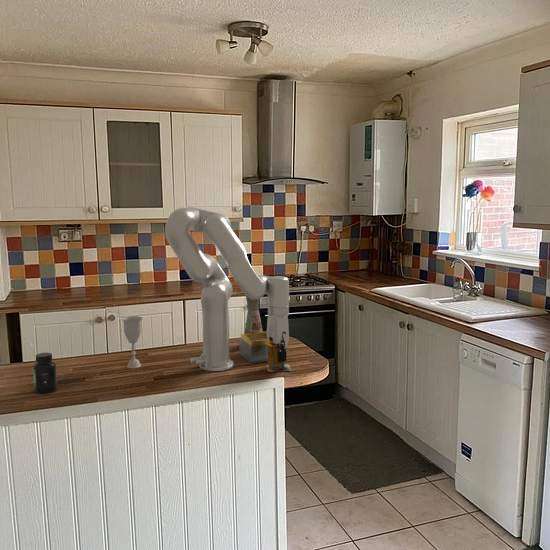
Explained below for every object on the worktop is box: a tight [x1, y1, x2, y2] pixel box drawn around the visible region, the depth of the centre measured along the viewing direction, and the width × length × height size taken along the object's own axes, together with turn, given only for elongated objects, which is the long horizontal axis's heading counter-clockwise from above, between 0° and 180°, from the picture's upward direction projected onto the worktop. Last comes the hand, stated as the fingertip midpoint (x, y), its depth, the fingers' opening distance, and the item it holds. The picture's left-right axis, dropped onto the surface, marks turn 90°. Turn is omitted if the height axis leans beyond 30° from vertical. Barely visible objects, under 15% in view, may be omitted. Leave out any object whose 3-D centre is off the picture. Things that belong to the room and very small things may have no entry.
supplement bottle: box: [32, 352, 58, 395], centre depth 173 cm, size 7×7×12 cm
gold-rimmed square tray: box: [238, 330, 269, 364], centre depth 210 cm, size 16×13×8 cm
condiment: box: [266, 337, 292, 373], centre depth 195 cm, size 7×8×12 cm
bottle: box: [243, 295, 264, 334], centre depth 222 cm, size 9×9×28 cm
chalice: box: [121, 315, 143, 369], centre depth 197 cm, size 7×7×18 cm
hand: (278, 358), depth 195 cm, fingers closed on condiment, 6 cm apart
